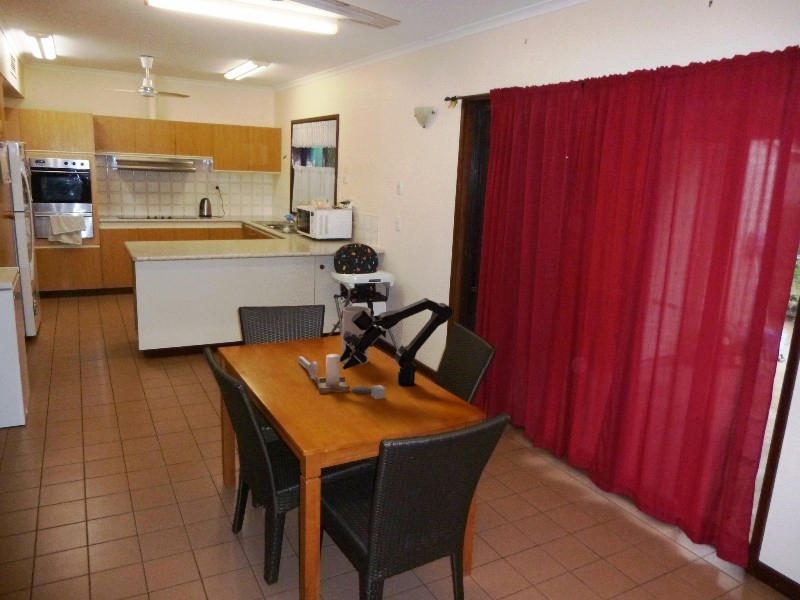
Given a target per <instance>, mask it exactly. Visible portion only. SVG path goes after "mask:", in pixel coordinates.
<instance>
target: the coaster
mask: <svg viewBox="0 0 800 600" xmlns="http://www.w3.org/2000/svg"><path fill="white" fill-rule="evenodd" d="M351 391H352V393H354V394H357V395H369V394H371V392H372V387H371V388H370V387H368V386H355V387H352V390H351Z"/></svg>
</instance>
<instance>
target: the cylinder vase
mask: <svg viewBox="0 0 800 600" xmlns="http://www.w3.org/2000/svg"><path fill="white" fill-rule="evenodd" d="M342 308H343V309H342V333H341V334H342V335H341V338H342V337H343V335H344V333H345V331H348V332H351V333H353V334H355V335H359V334H363V333H364V332H365V331H366V330H365V331H364V330H362V331H361V330H360V329H359V328H358V327H357V326H356V325H355V324H354V323H353V322H352V321H351V319H352V318H353V316H354V315H355V314H356V313H358V312H360V311H362V310H363V309H364V310H365V311H366V313H367V314H368V315H369V316H370V317H371V311H372V310H371V308H369V307H367V306H362V305H361V306H360V305H349V306H345V307H342ZM345 343H346V341H345V340H344V339H343V338H342V340H341V355H342V354H343V352H344V350H345ZM346 344H347V343H346ZM369 354H370V347H369V348H368V349H367V350H366V351H365V355H366V357H367V361H366V362H365V363H364V364H363V363H362V364H359V365H358V366H363V365H366V364H368V363H369V359H370V358H369V357H370V355H369ZM348 360H349V358H348V359H346V360H344V361H342V362H343V363H344V364H345V363H346V362H347V361H348ZM342 362H341V363H342Z"/></svg>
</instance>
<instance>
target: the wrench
mask: <svg viewBox="0 0 800 600" xmlns="http://www.w3.org/2000/svg"><path fill="white" fill-rule="evenodd" d="M297 361H298V364H300V365H301V366H302V367H303V368H305V369H306V370H307V371H308V373H309V376H310V380H316V378H317V377H318V375H317V373H316V371H319V366H318V362H317V361H311V362H310V361H308V360H307V358H305V357H303V356H302V355H301V356H298V357H297Z"/></svg>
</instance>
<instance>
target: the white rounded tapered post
mask: <svg viewBox="0 0 800 600" xmlns="http://www.w3.org/2000/svg"><path fill="white" fill-rule="evenodd" d="M325 356H326V357H325V377H326V387H332V386H339V385H340V377H341V375H340V373H341V362H340V358H341V355H340V354H337V353H329V354H327V355H325Z"/></svg>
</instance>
